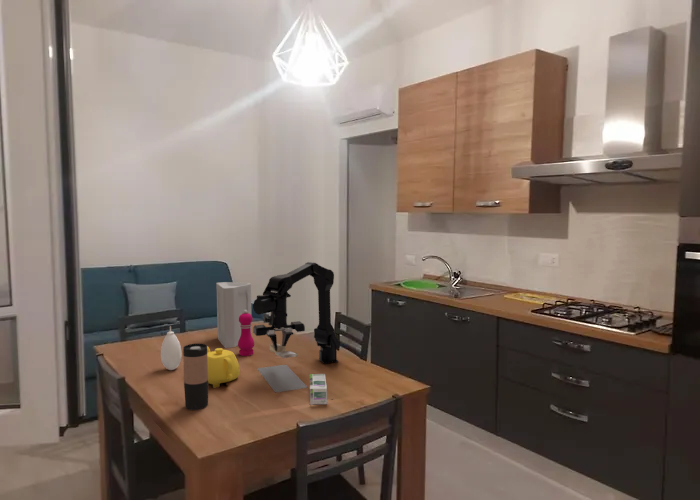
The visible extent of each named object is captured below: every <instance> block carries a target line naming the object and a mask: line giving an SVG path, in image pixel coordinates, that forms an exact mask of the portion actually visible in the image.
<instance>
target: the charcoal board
mask: <svg viewBox="0 0 700 500" xmlns="http://www.w3.org/2000/svg"><path fill="white" fill-rule="evenodd" d="M256 369H257V371H258V372H259V373H260V374H261V376H262V378H264V380H265V382H266V383H267V384H268V385H269V386H270V388H271V389H272V390H273V392H274V393H283V392H288V391H294V390H295V391H296V390H301V389H307V388H309V387H308V386H307V384H305V383H304V382H303V381H302V379H300V378H299V376H298V375H296V373H295V372H294V371H293V370H292V369H291V368H290V367H289V366H288V365H287V364H281V365H271V366H266V367H258V368H256Z"/></svg>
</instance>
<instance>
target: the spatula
mask: <svg viewBox="0 0 700 500" xmlns="http://www.w3.org/2000/svg"><path fill="white" fill-rule="evenodd" d="M269 352H271V353H274V354H275V356H277V357H280V358H282V359H285V358H294V357H295V358H296V357H297V352H296V353H295V352H293V351H290V350H286V346H282V344H280V343H277V351H275V349H274V346H273V343H269Z"/></svg>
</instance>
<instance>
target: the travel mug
mask: <svg viewBox="0 0 700 500" xmlns="http://www.w3.org/2000/svg"><path fill="white" fill-rule="evenodd" d="M207 346H208V345H207V343H206V344H205V343H190V344H186V345H184V346H183V347H182V348H183V349H182V352H183V353H182V355H183V356H182V357H183V389H184V405H185V409H186V410H189V411H199V410H203V409H205V408H207V407H208V406H209V383H208V357H207Z"/></svg>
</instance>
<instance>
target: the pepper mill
mask: <svg viewBox="0 0 700 500" xmlns="http://www.w3.org/2000/svg"><path fill="white" fill-rule="evenodd" d="M247 312H248V311H247V310H244V313H243V314H241V315H240V316H239V322H240V323H241V324H240V328H241V336H240V339H239V341H238V346H237V348H239V350H238V352H239V353H238V355H239V356H242V357H249V356H252V355H253V354H254V349H253V348H254V347H255V340H254V337H253V334H252V335H251V327H252V326H251V325H252V324H253V323H252V324H251V322H253V316H252V313H251V314H249V313H247Z"/></svg>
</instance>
